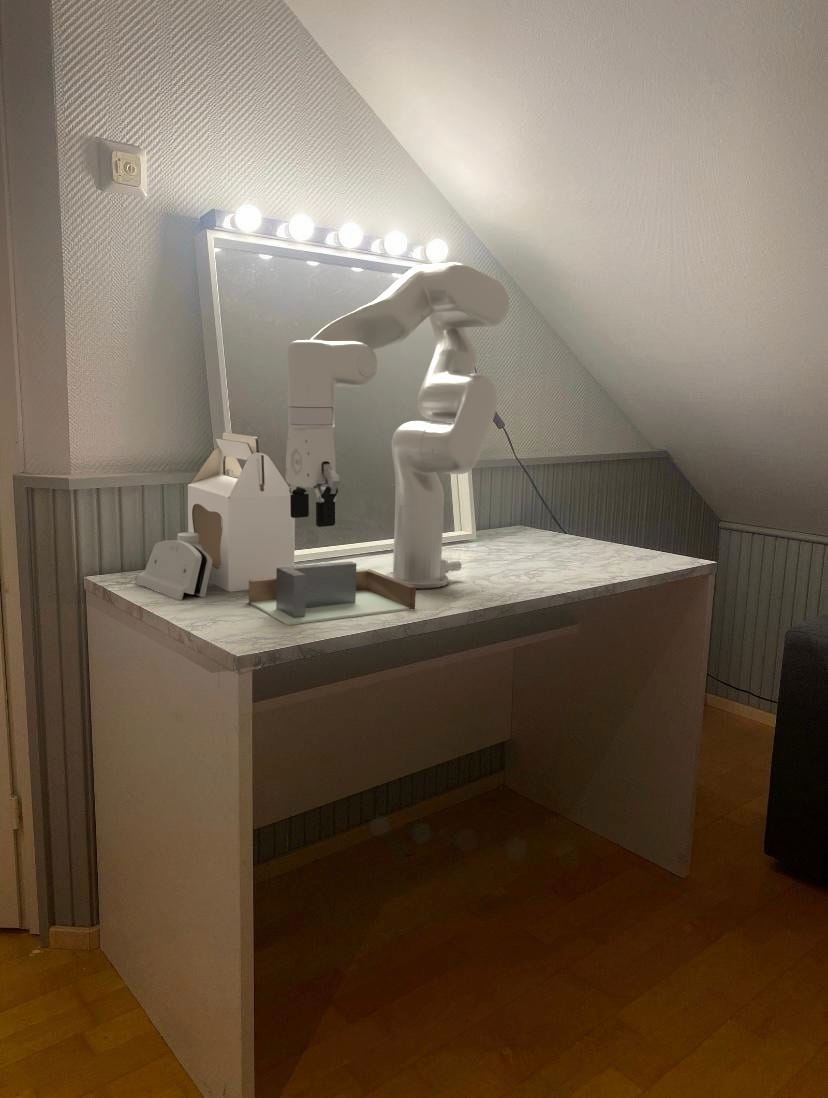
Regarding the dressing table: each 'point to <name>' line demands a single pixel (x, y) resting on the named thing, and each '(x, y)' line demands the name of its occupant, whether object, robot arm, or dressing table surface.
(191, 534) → the pill bottle
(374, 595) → the sage mat
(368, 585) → the walnut wall short
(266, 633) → the dressing table surface
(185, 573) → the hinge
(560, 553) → the dressing table surface
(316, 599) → the bracket
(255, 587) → the walnut wall long
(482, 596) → the dressing table surface
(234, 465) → the gable box
